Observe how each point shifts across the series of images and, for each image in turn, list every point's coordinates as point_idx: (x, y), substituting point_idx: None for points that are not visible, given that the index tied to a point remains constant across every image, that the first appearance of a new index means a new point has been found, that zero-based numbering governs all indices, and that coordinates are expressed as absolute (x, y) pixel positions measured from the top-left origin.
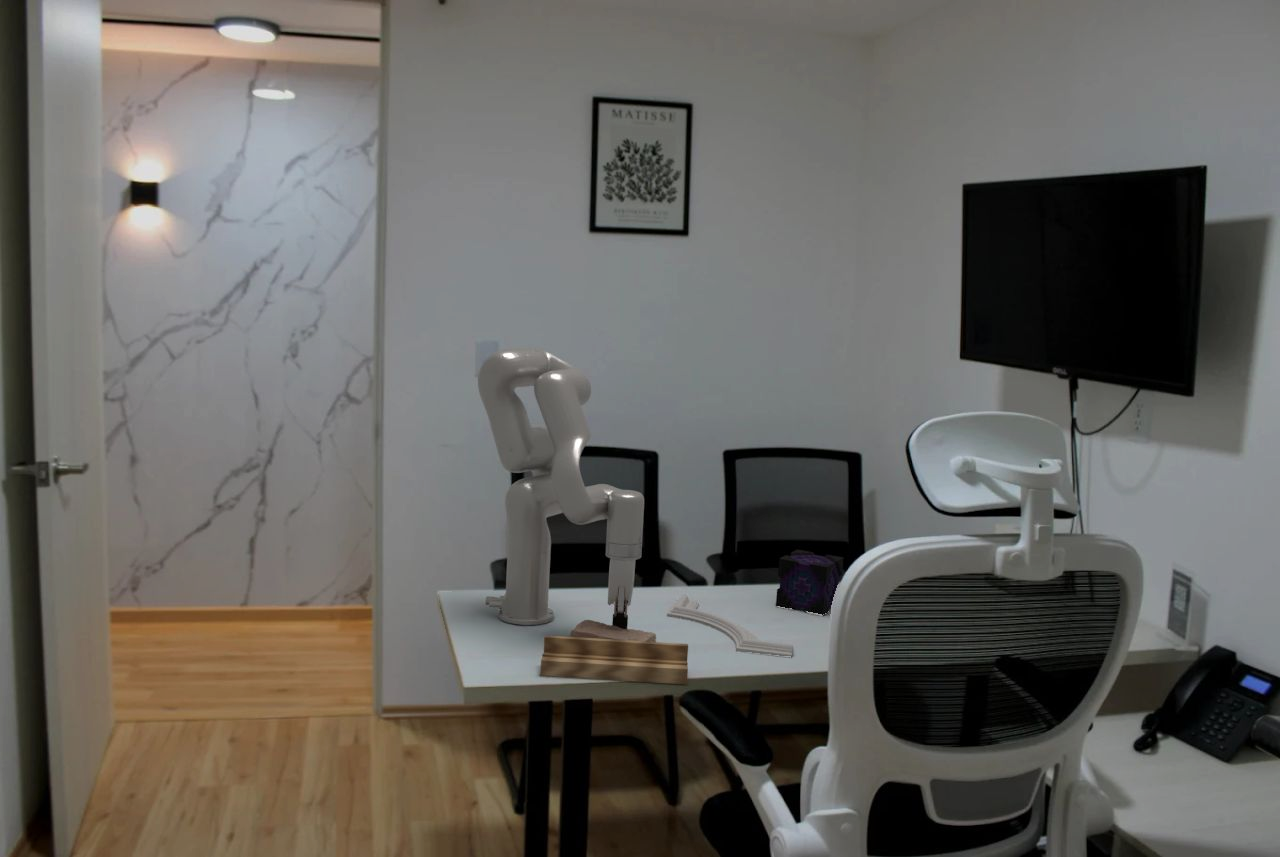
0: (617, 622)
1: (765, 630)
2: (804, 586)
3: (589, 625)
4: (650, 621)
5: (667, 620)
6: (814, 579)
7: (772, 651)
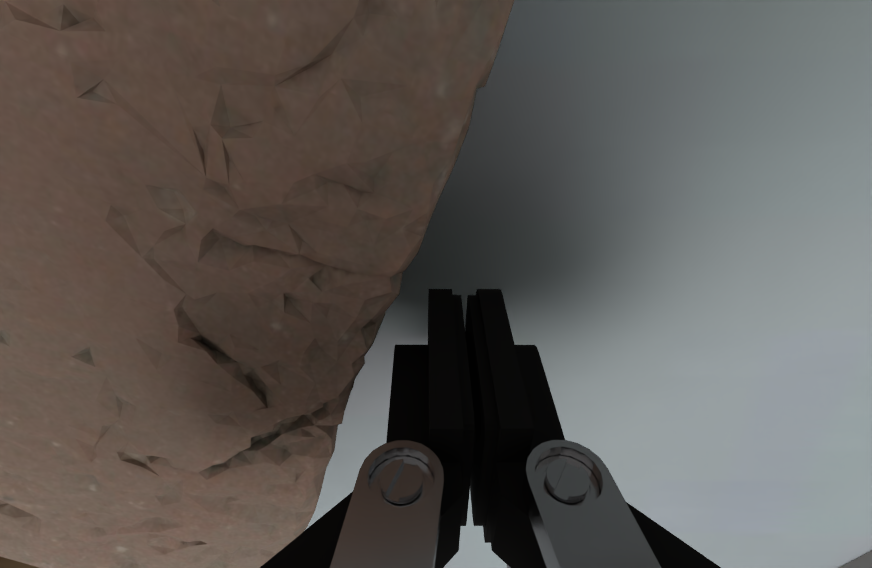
0: (391, 419)
1: None
2: None
3: (182, 63)
4: (861, 460)
5: (847, 520)
6: None
7: None
